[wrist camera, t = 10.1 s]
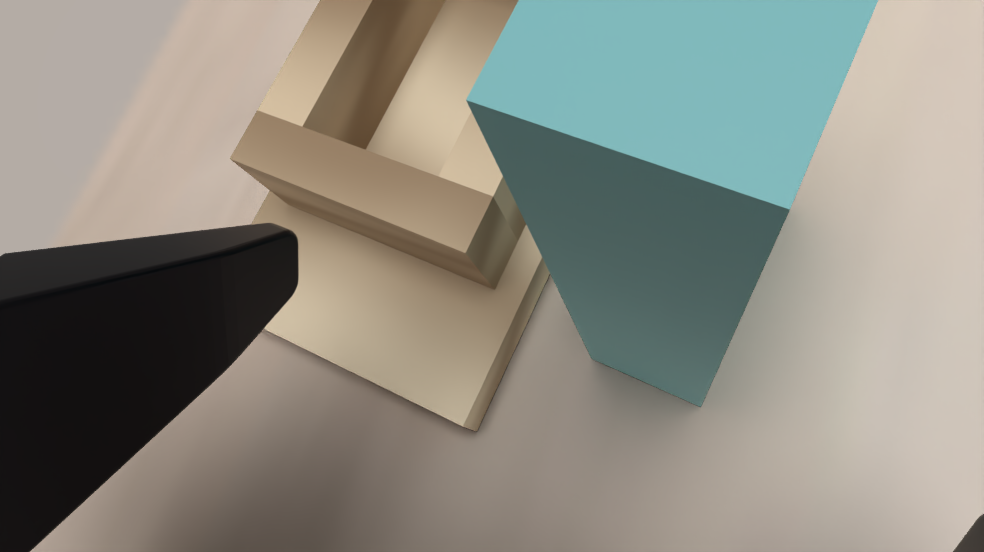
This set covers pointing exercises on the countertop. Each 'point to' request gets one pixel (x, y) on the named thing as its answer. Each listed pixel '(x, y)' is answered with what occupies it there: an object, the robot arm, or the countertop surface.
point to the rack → (396, 201)
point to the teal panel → (661, 158)
